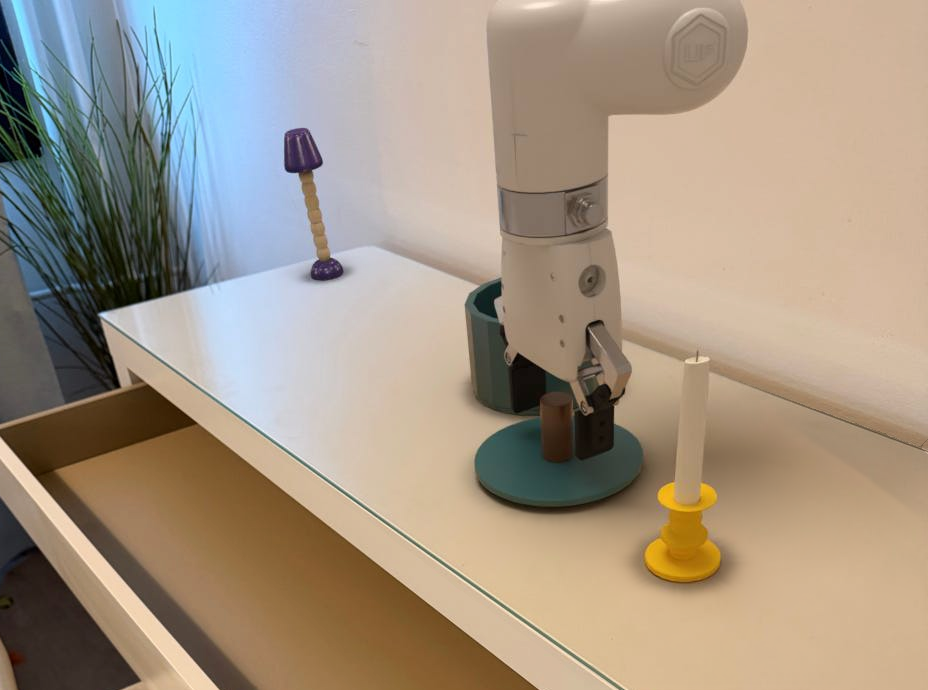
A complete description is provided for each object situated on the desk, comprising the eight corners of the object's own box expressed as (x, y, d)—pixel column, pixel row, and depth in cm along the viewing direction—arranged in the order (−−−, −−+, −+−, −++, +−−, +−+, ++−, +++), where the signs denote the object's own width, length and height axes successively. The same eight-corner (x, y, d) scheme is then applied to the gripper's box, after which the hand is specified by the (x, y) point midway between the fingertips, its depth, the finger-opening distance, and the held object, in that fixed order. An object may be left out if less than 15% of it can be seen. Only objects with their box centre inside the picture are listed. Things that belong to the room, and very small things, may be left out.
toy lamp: (310, 283, 117) (281, 137, 106) (303, 272, 121) (274, 130, 110) (347, 275, 118) (322, 129, 107) (338, 265, 121) (313, 122, 111)
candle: (631, 550, 67) (638, 344, 57) (696, 532, 68) (714, 325, 58) (666, 590, 63) (680, 376, 53) (734, 570, 64) (760, 356, 54)
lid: (526, 416, 85) (522, 351, 81) (669, 445, 78) (673, 375, 74) (443, 490, 76) (435, 422, 72) (597, 529, 70) (597, 456, 66)
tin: (514, 348, 96) (509, 265, 90) (627, 367, 90) (629, 278, 85) (448, 401, 88) (439, 313, 83) (567, 425, 83) (565, 332, 77)
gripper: (676, 220, 59) (664, 458, 70) (534, 170, 71) (543, 379, 82) (576, 250, 57) (580, 490, 68) (447, 193, 69) (469, 404, 80)
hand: (560, 429), depth 75 cm, fingers open, 9 cm apart
